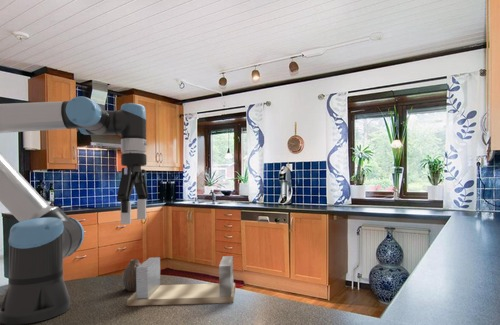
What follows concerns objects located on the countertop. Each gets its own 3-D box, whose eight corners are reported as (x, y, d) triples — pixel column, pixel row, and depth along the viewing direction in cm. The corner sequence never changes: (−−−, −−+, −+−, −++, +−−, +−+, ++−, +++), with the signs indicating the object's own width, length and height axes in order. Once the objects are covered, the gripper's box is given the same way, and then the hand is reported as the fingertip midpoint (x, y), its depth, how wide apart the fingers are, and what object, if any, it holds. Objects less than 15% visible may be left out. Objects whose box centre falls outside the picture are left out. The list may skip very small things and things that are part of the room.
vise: (127, 305, 86) (126, 269, 87) (142, 290, 98) (141, 258, 99) (233, 302, 86) (232, 265, 87) (235, 287, 98) (234, 255, 99)
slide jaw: (136, 298, 86) (136, 267, 87) (150, 284, 98) (150, 257, 99) (147, 298, 86) (147, 267, 87) (160, 284, 98) (160, 257, 99)
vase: (117, 291, 99) (117, 261, 99) (135, 284, 105) (135, 256, 105) (133, 294, 96) (133, 263, 96) (151, 287, 102) (150, 258, 102)
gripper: (131, 148, 90) (131, 226, 89) (157, 156, 115) (157, 216, 114) (104, 149, 90) (104, 227, 89) (136, 156, 115) (136, 217, 114)
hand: (134, 221), depth 102 cm, fingers open, 13 cm apart
